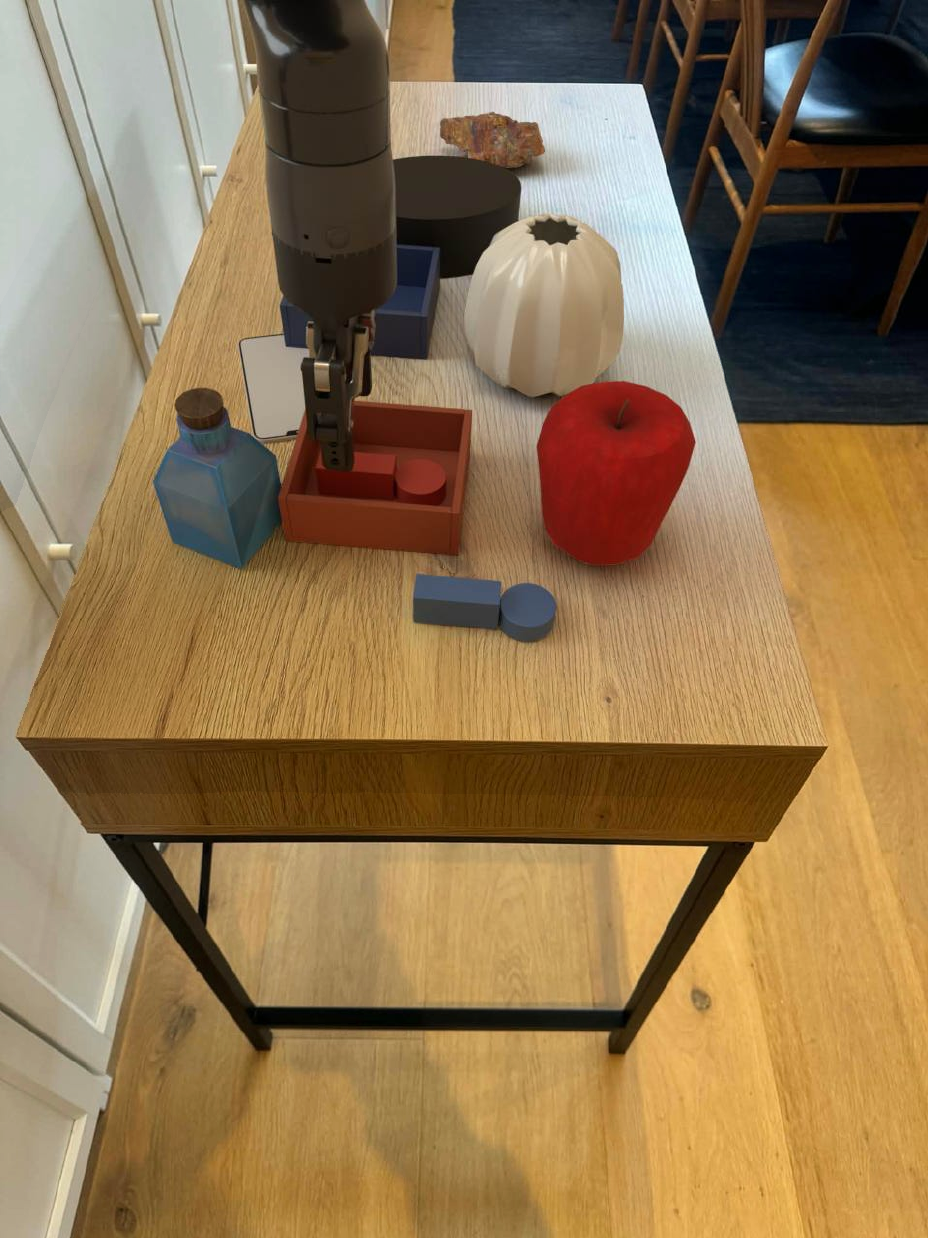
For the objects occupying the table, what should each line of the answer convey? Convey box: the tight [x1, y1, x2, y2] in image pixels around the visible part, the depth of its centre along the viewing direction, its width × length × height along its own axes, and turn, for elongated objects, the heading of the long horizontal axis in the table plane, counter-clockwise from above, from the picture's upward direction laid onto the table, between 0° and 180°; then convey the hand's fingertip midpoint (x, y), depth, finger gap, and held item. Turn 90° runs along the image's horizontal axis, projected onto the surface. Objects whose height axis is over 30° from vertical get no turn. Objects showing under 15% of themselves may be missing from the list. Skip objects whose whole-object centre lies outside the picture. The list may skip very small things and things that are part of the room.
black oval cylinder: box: [393, 155, 522, 279], centre depth 93 cm, size 14×18×8 cm
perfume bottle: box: [152, 387, 282, 570], centre depth 64 cm, size 6×6×12 cm
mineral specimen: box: [439, 111, 546, 169], centre depth 105 cm, size 12×8×7 cm
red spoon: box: [315, 450, 446, 506], centre depth 70 cm, size 10×4×3 cm, turn 85°
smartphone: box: [237, 333, 309, 445], centre depth 79 cm, size 7×1×15 cm
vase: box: [463, 212, 625, 398], centre depth 77 cm, size 14×14×13 cm
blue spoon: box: [412, 573, 558, 643], centre depth 63 cm, size 10×4×3 cm, turn 85°
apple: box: [536, 380, 697, 566], centre depth 64 cm, size 10×10×14 cm
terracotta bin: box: [278, 400, 473, 556], centre depth 69 cm, size 13×12×4 cm
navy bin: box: [279, 245, 441, 360], centre depth 84 cm, size 13×12×4 cm
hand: (348, 428), depth 66 cm, fingers open, 8 cm apart
